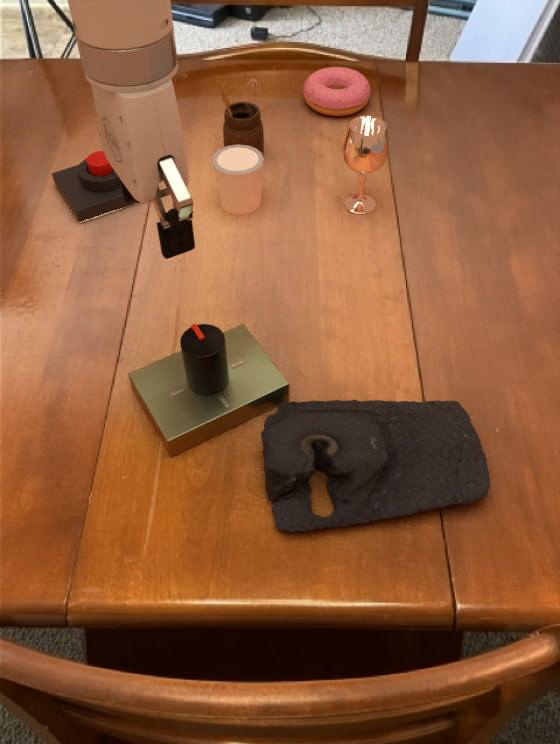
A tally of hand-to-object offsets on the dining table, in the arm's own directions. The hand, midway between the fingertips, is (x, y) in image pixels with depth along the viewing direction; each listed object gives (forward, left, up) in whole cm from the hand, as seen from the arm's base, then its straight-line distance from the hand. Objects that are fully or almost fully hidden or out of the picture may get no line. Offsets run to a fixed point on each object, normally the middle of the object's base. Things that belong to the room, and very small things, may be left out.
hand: (158, 223), depth 67 cm
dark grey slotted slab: (+9, -26, -16) cm, 32 cm away
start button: (+3, +30, -12) cm, 33 cm away
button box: (+3, +30, -16) cm, 34 cm away
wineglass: (+32, +9, -16) cm, 37 cm away
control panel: (-1, -10, -16) cm, 19 cm away
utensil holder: (+24, +28, -16) cm, 40 cm away
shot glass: (+18, +18, -16) cm, 30 cm away
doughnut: (+44, +33, -16) cm, 57 cm away
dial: (-1, -10, -13) cm, 16 cm away
